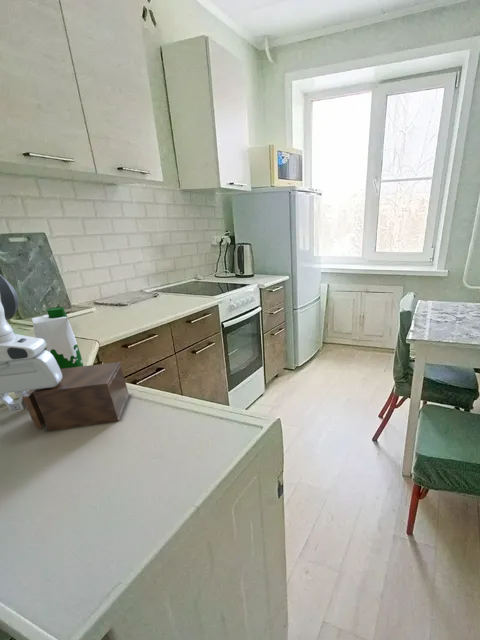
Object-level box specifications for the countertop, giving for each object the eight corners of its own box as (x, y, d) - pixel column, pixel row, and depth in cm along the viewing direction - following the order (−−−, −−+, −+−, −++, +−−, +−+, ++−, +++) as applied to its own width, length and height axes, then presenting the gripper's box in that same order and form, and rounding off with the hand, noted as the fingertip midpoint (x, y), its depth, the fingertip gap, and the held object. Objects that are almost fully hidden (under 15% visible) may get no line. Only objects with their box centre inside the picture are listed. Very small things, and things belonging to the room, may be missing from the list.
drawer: (29, 428, 77) (15, 397, 74) (50, 404, 87) (38, 375, 84) (101, 419, 80) (90, 388, 76) (113, 396, 90) (104, 368, 86)
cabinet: (48, 431, 78) (32, 392, 73) (68, 404, 89) (55, 369, 85) (118, 421, 80) (107, 383, 76) (129, 396, 91) (119, 361, 87)
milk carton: (89, 377, 103) (67, 309, 95) (54, 386, 99) (27, 316, 90) (84, 368, 110) (62, 304, 101) (50, 376, 105) (25, 310, 96)
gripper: (-79, 361, 66) (-45, 424, 72) (40, 348, 69) (63, 409, 75) (-57, 350, 72) (-27, 409, 78) (52, 338, 75) (73, 395, 81)
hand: (19, 409), depth 77 cm, fingers closed
